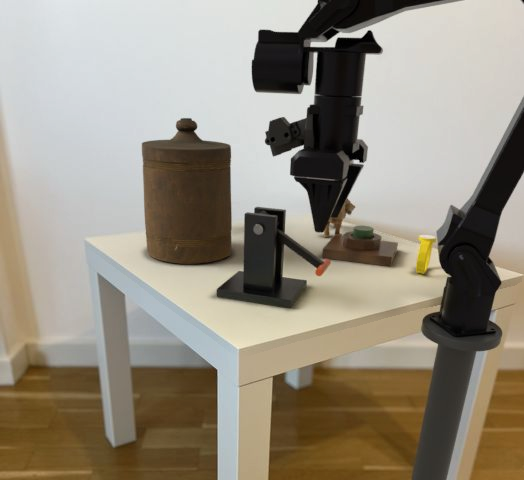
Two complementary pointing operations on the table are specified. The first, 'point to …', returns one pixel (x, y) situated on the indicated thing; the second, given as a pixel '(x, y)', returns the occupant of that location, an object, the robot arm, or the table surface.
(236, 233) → the table surface
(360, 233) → the button
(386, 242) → the button box
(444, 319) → the robot arm
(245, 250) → the bracket
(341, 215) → the lion figurine
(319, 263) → the lever
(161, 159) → the wooden container
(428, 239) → the watch
